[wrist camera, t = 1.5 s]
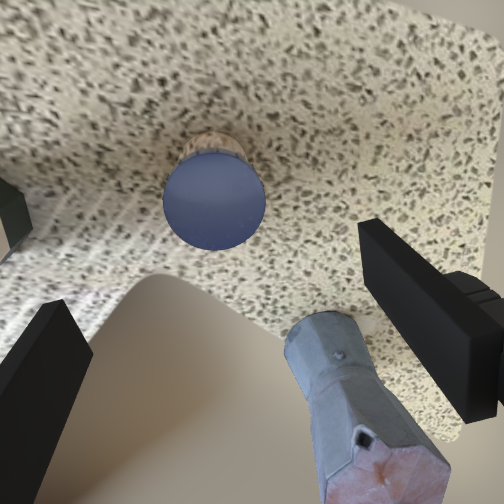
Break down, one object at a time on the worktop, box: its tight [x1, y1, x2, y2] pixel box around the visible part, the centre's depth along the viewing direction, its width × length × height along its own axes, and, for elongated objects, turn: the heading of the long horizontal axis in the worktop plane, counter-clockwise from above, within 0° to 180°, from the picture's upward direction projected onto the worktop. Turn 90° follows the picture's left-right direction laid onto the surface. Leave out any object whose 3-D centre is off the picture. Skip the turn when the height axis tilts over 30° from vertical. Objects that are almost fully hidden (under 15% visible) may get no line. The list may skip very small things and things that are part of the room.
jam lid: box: [162, 147, 266, 251], centre depth 24 cm, size 6×6×2 cm
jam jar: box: [176, 131, 249, 164], centre depth 28 cm, size 6×6×9 cm
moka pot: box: [284, 312, 451, 504], centre depth 33 cm, size 10×15×20 cm, turn 27°
